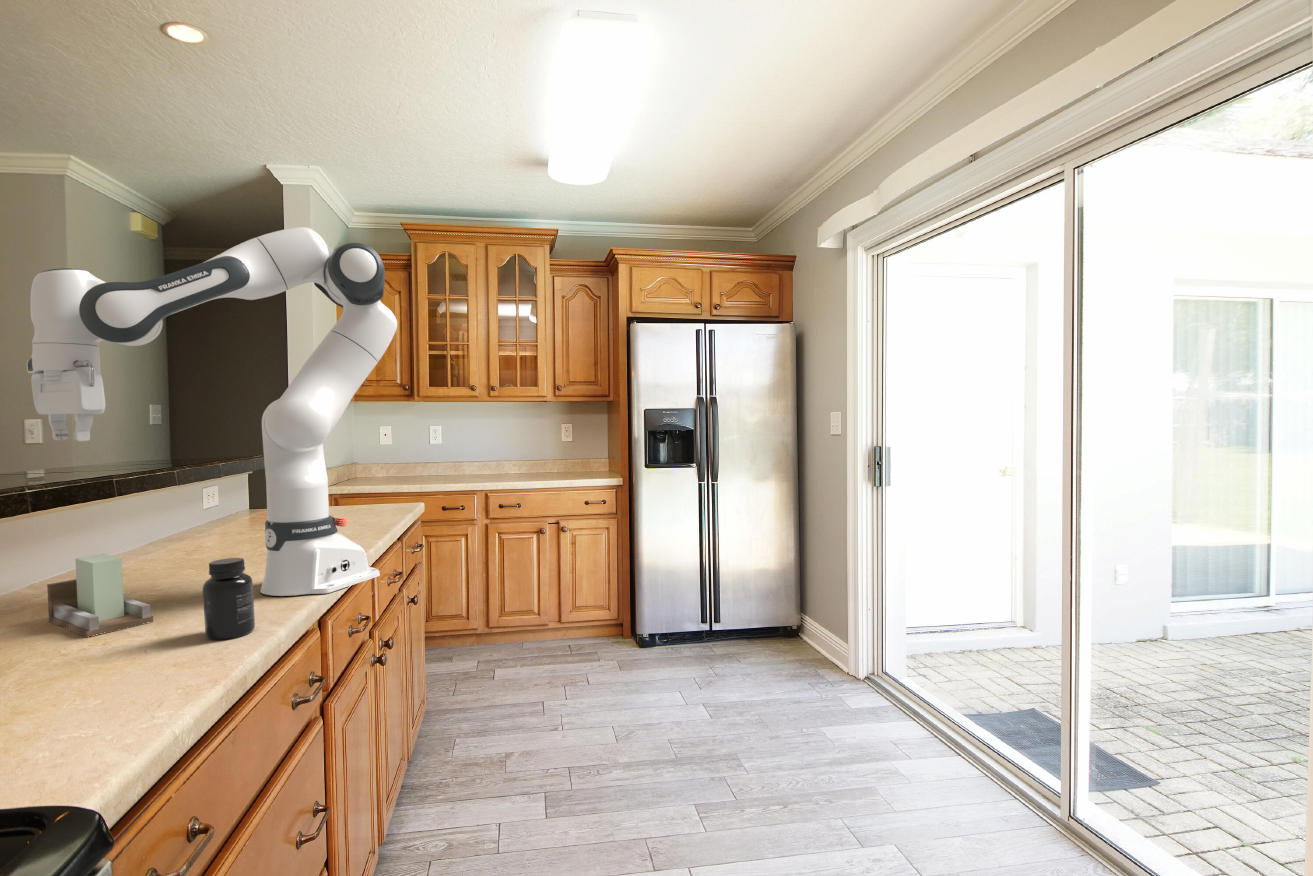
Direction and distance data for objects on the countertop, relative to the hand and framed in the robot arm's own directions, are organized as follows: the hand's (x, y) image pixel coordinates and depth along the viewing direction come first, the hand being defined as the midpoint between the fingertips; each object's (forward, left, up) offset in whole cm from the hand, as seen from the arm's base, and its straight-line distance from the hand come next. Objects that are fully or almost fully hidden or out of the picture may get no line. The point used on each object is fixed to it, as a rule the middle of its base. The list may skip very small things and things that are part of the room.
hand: (71, 440), depth 117 cm
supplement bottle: (-8, +35, -31) cm, 48 cm away
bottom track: (0, +9, -31) cm, 32 cm away
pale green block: (0, +9, -30) cm, 31 cm away
